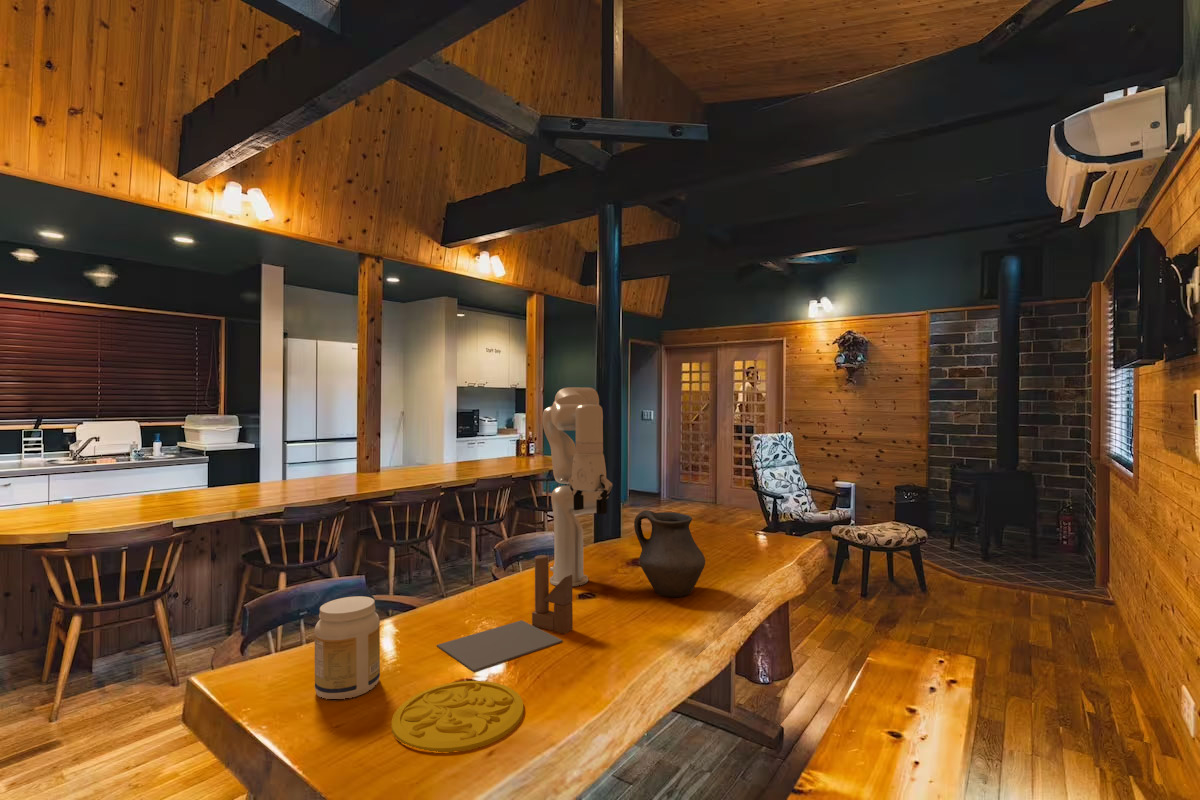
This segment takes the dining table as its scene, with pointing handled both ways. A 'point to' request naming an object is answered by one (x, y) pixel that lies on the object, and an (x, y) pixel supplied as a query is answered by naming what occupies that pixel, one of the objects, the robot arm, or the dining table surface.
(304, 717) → the dining table surface
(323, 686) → the supplement tub
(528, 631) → the mat
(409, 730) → the decorative medallion
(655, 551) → the pitcher
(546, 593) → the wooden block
